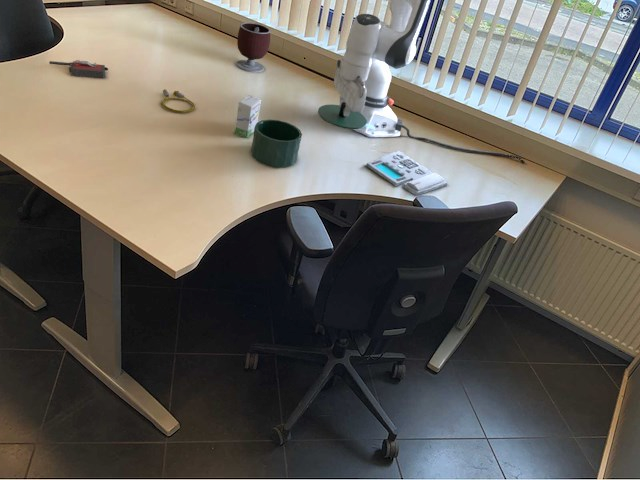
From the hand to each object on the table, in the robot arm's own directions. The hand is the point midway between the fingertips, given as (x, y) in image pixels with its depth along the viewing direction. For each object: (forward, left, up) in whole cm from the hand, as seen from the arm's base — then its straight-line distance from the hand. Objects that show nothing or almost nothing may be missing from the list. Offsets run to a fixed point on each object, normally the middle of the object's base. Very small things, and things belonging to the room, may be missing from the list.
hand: (343, 112), depth 175 cm
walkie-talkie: (+82, -58, -20) cm, 102 cm away
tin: (+19, -4, -19) cm, 27 cm away
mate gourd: (+14, -82, -20) cm, 85 cm away
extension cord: (+48, -38, -20) cm, 64 cm away
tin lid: (0, 0, -2) cm, 2 cm away
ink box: (+26, -20, -20) cm, 38 cm away
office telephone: (-27, +4, -20) cm, 34 cm away
